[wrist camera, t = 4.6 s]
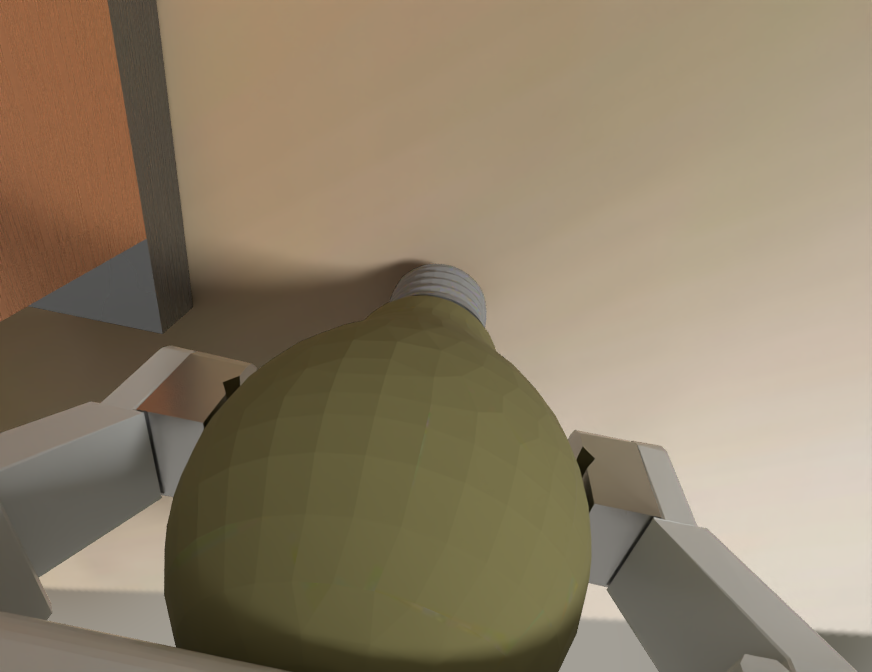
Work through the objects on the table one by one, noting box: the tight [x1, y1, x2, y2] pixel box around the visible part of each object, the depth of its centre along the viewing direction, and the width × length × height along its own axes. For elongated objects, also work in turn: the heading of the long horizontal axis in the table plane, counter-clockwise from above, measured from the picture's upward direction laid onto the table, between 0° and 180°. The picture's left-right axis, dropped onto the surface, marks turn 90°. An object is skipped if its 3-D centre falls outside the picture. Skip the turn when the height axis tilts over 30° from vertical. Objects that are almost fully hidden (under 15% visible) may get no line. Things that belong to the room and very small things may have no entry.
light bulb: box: [164, 264, 592, 672], centre depth 9 cm, size 6×6×10 cm
